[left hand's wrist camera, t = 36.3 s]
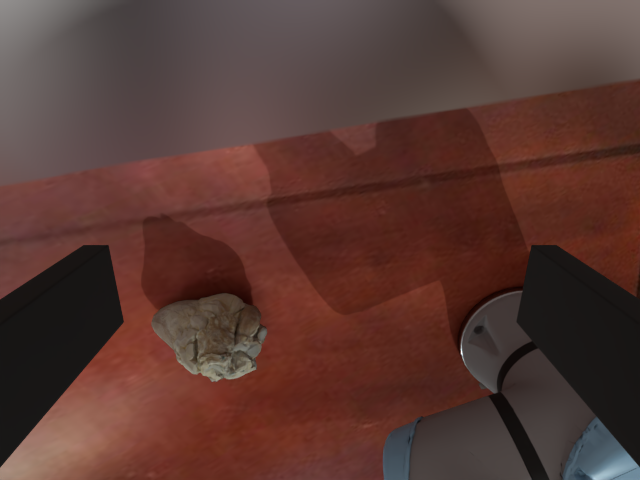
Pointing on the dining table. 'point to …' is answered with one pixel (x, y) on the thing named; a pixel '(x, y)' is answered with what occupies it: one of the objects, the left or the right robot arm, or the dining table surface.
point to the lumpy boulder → (212, 335)
